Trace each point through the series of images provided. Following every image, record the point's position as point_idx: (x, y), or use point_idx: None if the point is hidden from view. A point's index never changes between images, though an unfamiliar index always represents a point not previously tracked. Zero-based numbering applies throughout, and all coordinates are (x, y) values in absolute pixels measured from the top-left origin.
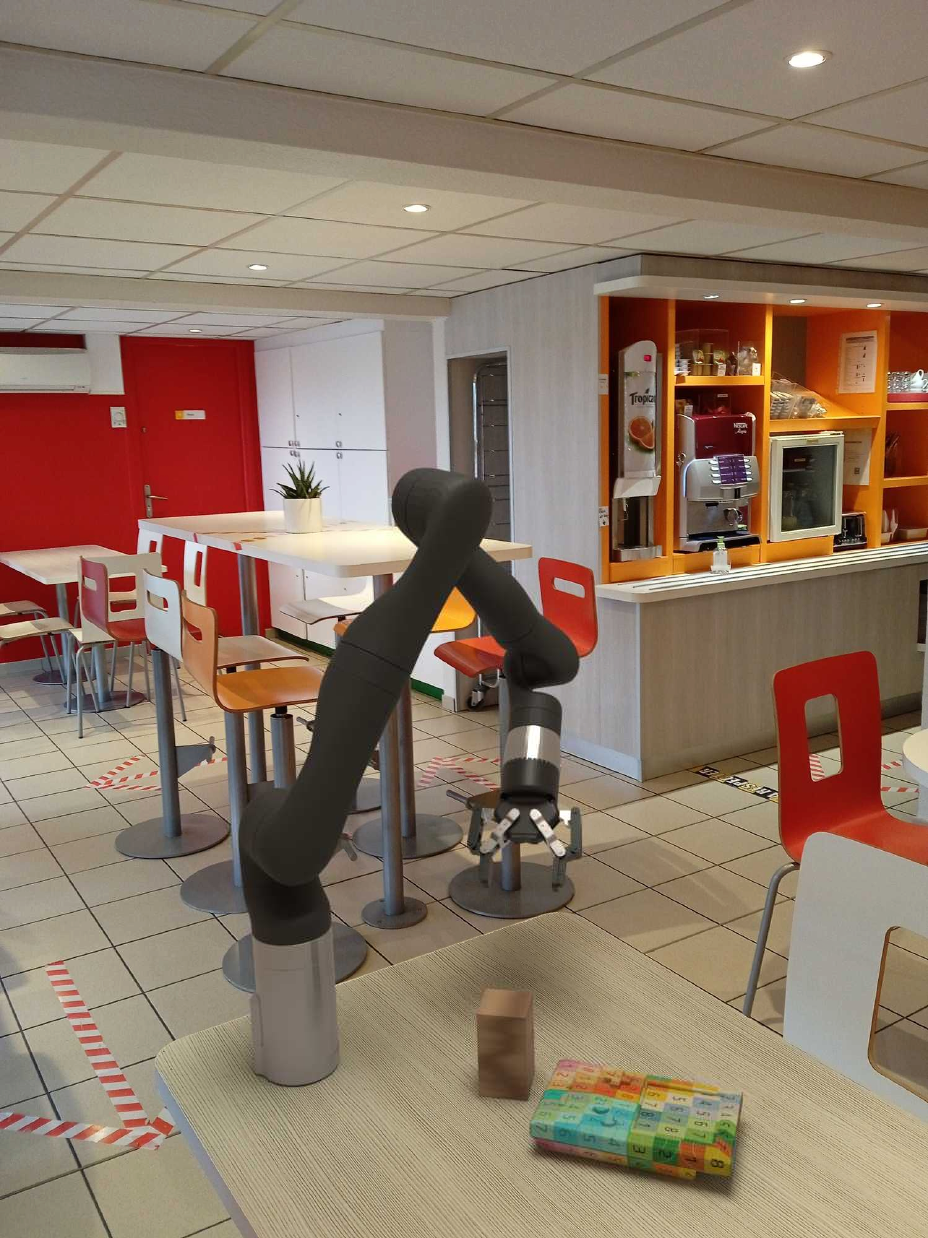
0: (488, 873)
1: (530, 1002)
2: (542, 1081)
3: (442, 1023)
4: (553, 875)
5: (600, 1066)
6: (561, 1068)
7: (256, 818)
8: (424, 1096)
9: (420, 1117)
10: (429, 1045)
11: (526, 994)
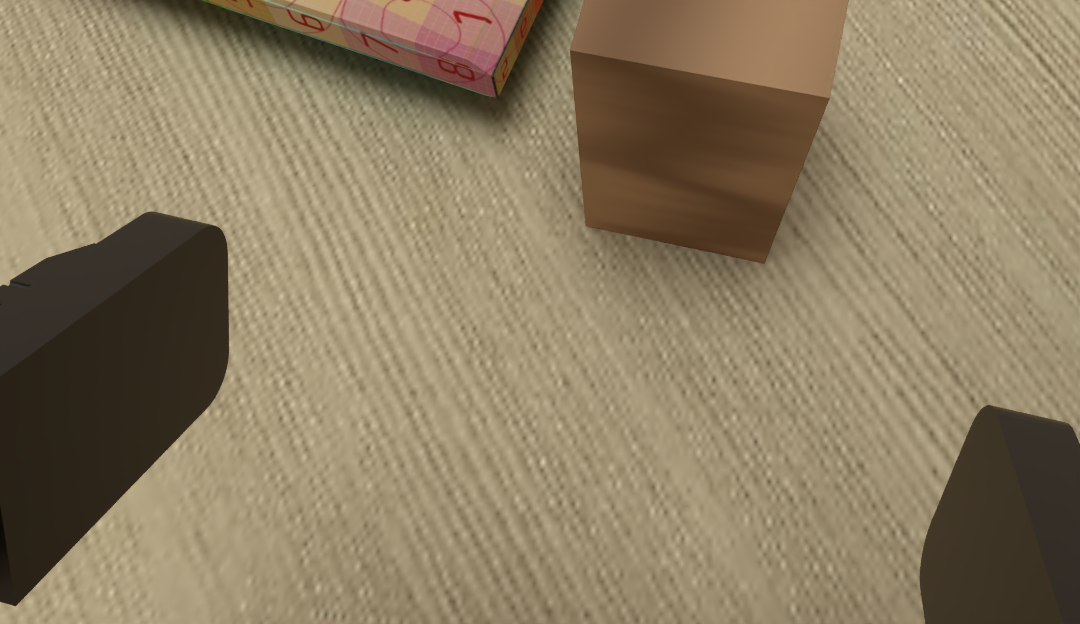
0: (1012, 457)
1: None
2: (563, 174)
3: None
4: (139, 257)
5: (346, 7)
6: (493, 6)
7: None
8: (1001, 113)
9: (999, 9)
10: None
11: (606, 31)
